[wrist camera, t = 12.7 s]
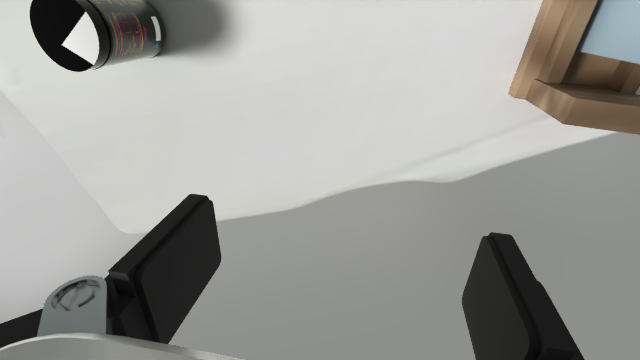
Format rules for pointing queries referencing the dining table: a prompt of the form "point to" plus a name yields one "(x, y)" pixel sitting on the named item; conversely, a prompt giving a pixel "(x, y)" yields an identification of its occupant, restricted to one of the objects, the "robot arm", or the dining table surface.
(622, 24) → the door panel
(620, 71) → the base
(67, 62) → the supplement container
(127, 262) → the robot arm
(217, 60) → the dining table surface
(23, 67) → the dining table surface
